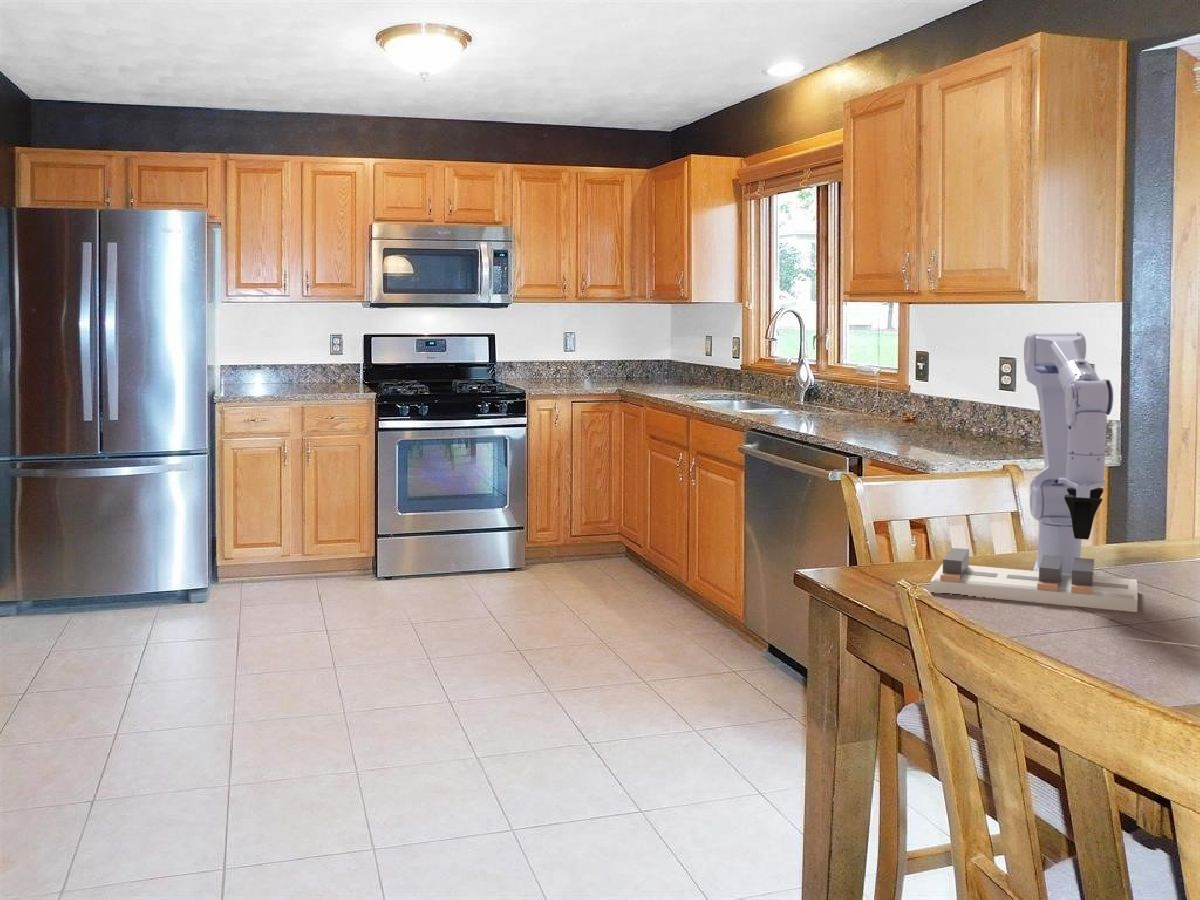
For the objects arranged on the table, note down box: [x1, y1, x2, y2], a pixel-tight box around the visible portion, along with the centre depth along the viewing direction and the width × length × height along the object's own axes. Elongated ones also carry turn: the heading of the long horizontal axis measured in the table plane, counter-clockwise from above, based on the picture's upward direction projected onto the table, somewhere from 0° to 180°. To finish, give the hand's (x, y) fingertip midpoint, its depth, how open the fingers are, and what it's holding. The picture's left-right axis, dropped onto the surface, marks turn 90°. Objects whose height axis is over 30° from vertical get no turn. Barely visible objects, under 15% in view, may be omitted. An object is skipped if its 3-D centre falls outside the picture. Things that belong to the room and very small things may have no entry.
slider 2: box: [1072, 557, 1095, 586], centre depth 181 cm, size 10×3×3 cm, turn 155°
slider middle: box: [1039, 555, 1062, 587], centre depth 184 cm, size 10×3×3 cm, turn 155°
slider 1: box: [942, 547, 970, 579], centre depth 190 cm, size 10×3×3 cm, turn 155°
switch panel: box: [929, 563, 1139, 613], centre depth 184 cm, size 14×31×3 cm, turn 65°
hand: (1082, 534), depth 184 cm, fingers open, 7 cm apart
